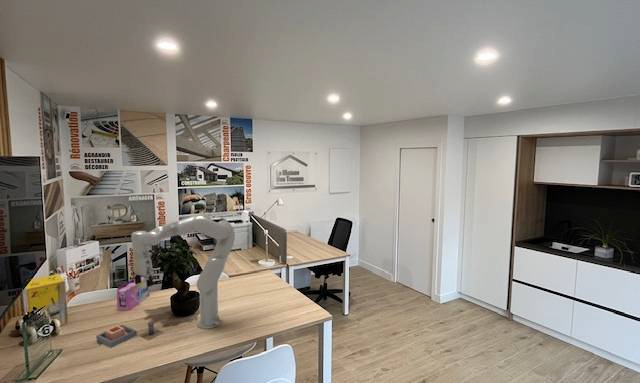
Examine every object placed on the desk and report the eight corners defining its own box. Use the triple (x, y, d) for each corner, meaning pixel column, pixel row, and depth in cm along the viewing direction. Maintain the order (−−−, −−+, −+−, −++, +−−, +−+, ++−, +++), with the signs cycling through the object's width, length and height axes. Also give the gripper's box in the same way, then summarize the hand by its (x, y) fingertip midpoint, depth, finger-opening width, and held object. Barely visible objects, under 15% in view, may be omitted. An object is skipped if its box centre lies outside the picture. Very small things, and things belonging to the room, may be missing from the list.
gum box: (128, 311, 203) (127, 290, 201) (115, 311, 203) (114, 290, 202) (149, 295, 227) (148, 276, 225) (138, 295, 227) (137, 275, 225)
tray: (136, 336, 175) (136, 330, 175) (111, 349, 164) (110, 342, 163) (122, 330, 181) (121, 324, 181) (96, 342, 170) (96, 335, 170)
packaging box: (68, 323, 188) (65, 281, 185) (30, 335, 176) (26, 289, 173) (61, 314, 199) (58, 273, 196) (25, 324, 187) (21, 281, 184)
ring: (128, 335, 174) (127, 326, 174) (112, 343, 167) (111, 333, 167) (121, 332, 177) (120, 323, 177) (105, 339, 170) (104, 330, 170)
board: (164, 334, 178) (163, 321, 177) (148, 342, 170) (148, 329, 169) (153, 329, 182) (153, 317, 182) (138, 337, 174) (137, 324, 174)
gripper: (158, 253, 178) (160, 284, 180) (137, 250, 186) (140, 280, 188) (145, 258, 171) (148, 290, 173) (124, 254, 179) (127, 284, 181)
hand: (144, 284), depth 181 cm, fingers open, 9 cm apart
